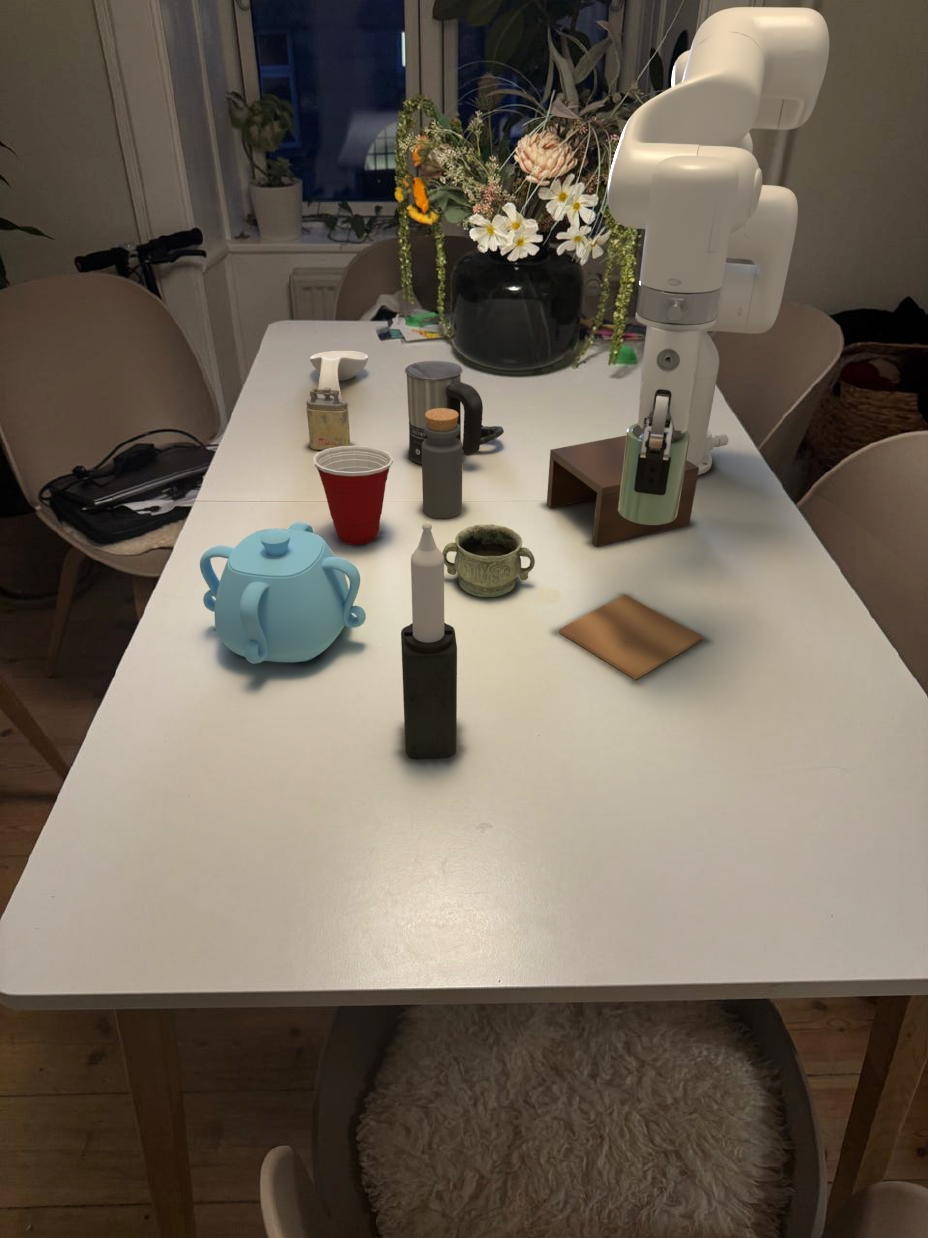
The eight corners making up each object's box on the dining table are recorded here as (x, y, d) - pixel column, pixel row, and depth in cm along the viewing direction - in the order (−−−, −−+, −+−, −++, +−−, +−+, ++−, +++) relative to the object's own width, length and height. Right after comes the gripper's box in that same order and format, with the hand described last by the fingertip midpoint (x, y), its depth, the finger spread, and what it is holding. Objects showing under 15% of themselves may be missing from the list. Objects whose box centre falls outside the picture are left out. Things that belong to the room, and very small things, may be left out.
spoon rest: (314, 365, 185) (311, 331, 181) (370, 366, 185) (369, 331, 181) (300, 406, 166) (296, 369, 161) (362, 406, 166) (360, 369, 162)
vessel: (437, 596, 111) (436, 553, 108) (446, 561, 119) (446, 520, 115) (531, 603, 110) (534, 560, 107) (534, 567, 118) (537, 526, 114)
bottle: (457, 520, 128) (458, 423, 120) (418, 516, 129) (416, 419, 121) (465, 503, 133) (466, 407, 125) (427, 499, 134) (426, 404, 126)
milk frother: (397, 461, 145) (394, 373, 137) (435, 428, 158) (435, 345, 149) (477, 476, 141) (479, 386, 133) (510, 440, 153) (514, 356, 145)
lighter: (353, 444, 151) (349, 387, 145) (347, 453, 148) (343, 395, 142) (313, 441, 152) (307, 385, 146) (306, 450, 149) (301, 393, 143)
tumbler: (654, 494, 99) (665, 417, 94) (689, 518, 94) (703, 438, 89) (606, 504, 96) (615, 426, 91) (639, 530, 92) (651, 448, 87)
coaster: (624, 597, 112) (625, 594, 111) (702, 640, 104) (702, 636, 104) (558, 632, 105) (558, 628, 105) (635, 680, 98) (636, 676, 97)
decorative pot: (377, 654, 101) (372, 551, 94) (240, 694, 95) (223, 587, 87) (327, 587, 113) (319, 491, 105) (202, 618, 107) (184, 518, 99)
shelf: (634, 486, 139) (641, 432, 134) (689, 524, 128) (699, 467, 123) (546, 505, 133) (550, 449, 128) (596, 546, 122) (602, 488, 117)
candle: (404, 725, 91) (396, 509, 77) (453, 723, 91) (454, 507, 77) (405, 760, 87) (397, 538, 73) (457, 757, 87) (458, 536, 73)
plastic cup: (408, 523, 127) (405, 446, 121) (378, 559, 119) (373, 477, 112) (340, 511, 130) (334, 435, 124) (306, 545, 122) (297, 465, 115)
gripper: (715, 332, 75) (684, 519, 85) (719, 285, 89) (692, 450, 99) (627, 325, 77) (607, 509, 87) (645, 280, 91) (625, 443, 101)
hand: (652, 476), depth 93 cm, fingers closed on tumbler, 6 cm apart
